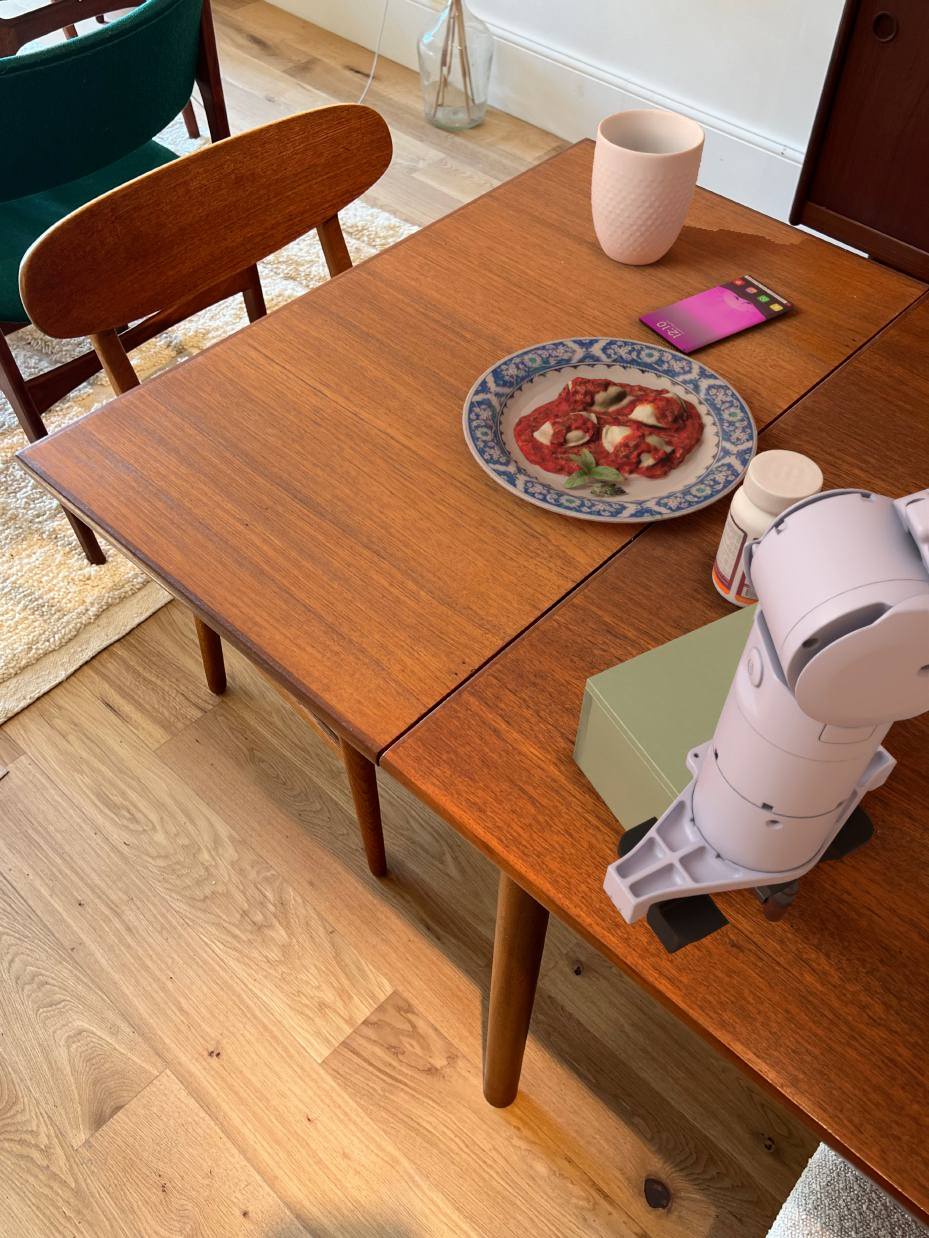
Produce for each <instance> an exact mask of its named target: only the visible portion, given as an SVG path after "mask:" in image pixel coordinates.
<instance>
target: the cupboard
mask: <svg viewBox="0 0 929 1238" xmlns="http://www.w3.org/2000/svg"><path fill="white" fill-rule="evenodd" d="M757 605H758V602H757V603H754V604H752V605H750V606H748V607H746V608H743V607H742V608H741V609H739V610H737V611H735V612H732V613H730V614H728V615H725V616H723V617H721V618H719V619H716V620H715V621H714V620H713V621H712V622H709V623H707V624H705V625H704V626H701V627H699V628H696V629H694V630H692V631H689V632H688V633H686V634H683V635H681V636H679V637H677V638H674V639H672V640H670V641H668V642H666V643H663V644H661V645H659V646H656V647H655V648H652V649H650V650H648V651H645V652H643V653H641V654H639V655H637V656H634V657H632V658H630V659H628V660H626V661H623V662H621V663H618V664H616V665H614V666H612V667H610V668H607V669H605V670H603V671H601V672H599V673H596V674H594V675H592V676H590V677H587V678H586V681H585V687H584V690H583V691H584V692H583V697H582V702H581V703H582V704H581V709H580V714H579V719H578V720H579V721H578V727H577V732H576V737H575V744H574V748H573V755H572V759H573V760H574V762H575V763H576V765H577V766H578V767H579V769H580V770H581V772H582V773H583V774H584V776H585V777H586V778H587V780H588V781H589V783H590V784H591V785H592V787H593V788H594V790H595V791H596V793H597V794H598V795H599V796H600V797H601V799H602V800H603V801H604V803H605V805H606V806H607V807H608V808H609V810H610V812H611V813H612V814H613V815H614V817H615V818H616V819H617V821H618V822H619V824H620V825H621V827H622V828H623V829H624V830H625V832H626V831H628V830H629V829H631V828H633V827H635V826H637V825H639V824H641V823H643V822H645V821H647V820H649V819H650V818H652V817H654V816H655V817H656V818H657V819H658V820H659V819H660V817H661V816H662V815H663V814H664V813H665V812H666V810H667V809H668V808H669V807H670V806H671V804H672V803H673V802H674V801H675V800H676V798H677V797H678V796H679V795H680V794H681V793H682V791H683V790H684V789H685V788H686V787H687V785H688V784H689V783H690V782H691V781H692V780H693V778H694V777H693V775H692V773H691V772H690V771H689V769H688V768H687V766H686V758H687V755H688V752H689V751H691V750H692V749H693V748H695V747H697V746H699V745H701V744H703V743H705V742H707V741H709V740H712V739H713V736H714V733H715V730H716V727H717V724H718V721H719V718H720V716H721V713H722V710H723V707H724V704H725V701H726V699H727V696H728V693H729V690H730V687H731V685H732V682H733V679H734V676H735V673H736V670H737V667H738V665H739V662H740V659H741V657H742V654H743V651H744V648H745V645H746V643H747V640H748V637H749V634H750V631H751V629H752V626H753V623H754V619H753V616H754V613H755V611H756V608H757Z"/></svg>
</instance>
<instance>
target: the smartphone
mask: <svg viewBox="0 0 929 1238" xmlns="http://www.w3.org/2000/svg"><path fill="white" fill-rule="evenodd" d="M794 306H795V304H794V302H792V301H790V300H789V299H787V298H786V297H785V296H782V295H781V294H780V293H778V292H777V291H775V290H774V289H772V288H770V287H769V286H768V285H766V284H764V283H763V282H761V281H760V280H758V279H757V278H755V277H754V276H753V275H751V274H746V275H744V276H741V277H738V278H736V279H733V280H730V281H728V282H726V283H722V284H721V285H717V286H715V287H713V288H710V289H708V290H705V291H702V292H700V293H698V294H695V295H692V296H690V297H687V298H685V299H682V300H680V301H677V302H674V303H672V304H669V305H667V306H664V307H661V308H659V309H656V310H654V311H651V312H649V313H646V314H643V315H641V316H638V322H639V323H640V324H642V325H643V326H645V327H646V328H647V329H649V330H650V331H651V332H652V333H654V334H655V335H656V336H657V337H659V338H660V339H661V340H663V341H664V342H665V343H666V344H668V345H670V346H671V347H672V348H673V349H674V350H676V352H678V353H680V354H682V355H687V354H689V353H692V352H694V351H697V350H699V349H701V348H703V347H704V348H705V347H706V346H709V345H711V344H714V343H716V342H718V341H720V340H723V339H726V338H728V337H730V336H732V335H735V334H738V333H741V332H742V331H745V330H747V329H749V328H753V327H754V326H756V325H760V324H762V323H764V322H766V321H769V320H771V319H773V318H776V317H778V316H781V315H783V314H786V313H788V312H791V311H792V310H793V309H794Z"/></svg>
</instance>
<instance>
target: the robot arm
mask: <svg viewBox="0 0 929 1238" xmlns="http://www.w3.org/2000/svg"><path fill="white" fill-rule="evenodd" d="M742 566H743V570H744V573H745V576H746V579H747V582H748V584H749V586H750V587H751V589H752V590H753V591H754V593H755V594H756V595H757V597H758V600H759V601H758V605H757V608H756V611H755V613H754V616H753V619H754V623H753V626H752V629H751V631H750V634H749V637H748V640H747V643H746V645H745V648H744V651H743V654H742V657H741V659H740V662H739V665H738V667H737V670H736V673H735V676H734V679H733V682H732V685H731V687H730V690H729V693H728V696H727V699H726V701H725V704H724V707H723V710H722V713H721V716H720V718H719V721H718V724H717V727H716V730H715V733H714V736H713V739H712V740H709V741H707V742H705V743H703V744H701V745H699V746H697V747H695V748H693V749H692V750H691V751H689V752H688V755H687V758H686V766H687V768H688V769H689V771H690V772H691V773H692V775H693V777H694V778H693V780H692V781H691V782H690V783H689V784H688V785H687V787H686V788H685V789H684V790H683V791H682V793H681V794H680V795H679V796H678V797H677V798H676V800H675V801H674V802H673V803H672V804H671V806H670V807H669V808H668V809H667V810H666V812H665V813H664V814H663V815H662V816H661V817H660V819H659V820H658V819H657V818H656V817H655V816H654V817H652V818H650V819H649V820H647V821H645V822H643V823H641V824H639V825H637V826H635V827H633V828H631V829H629V830H628V831H626V830H625V832H623V834H622V835H621V836H620V839H619V841H618V846H617V849H616V852H617V855H618V857H619V859H617V860H616V861H614V862H612V863H611V864H609V865H608V866H607V870H606V873H605V877H604V882H603V884H602V888H603V890H604V891H605V893H606V894H607V896H608V897H609V898H610V901H611V902H612V903H613V905H614V907H615V908H616V910H617V911H618V912H619V914H621V916H622V918H623V919H624V920H625V922H626V923H627V924H628V925H631V924H633V923H636V922H637V921H639V920H641V919H642V918H645V917H646V923H647V925H648V926H649V928H650V929H651V930H652V932H653V933H654V935H655V936H656V937H657V939H658V940H659V942H660V943H661V945H662V946H663V948H664V949H665V950H666V951H667V953H668V954H671V955H672V954H676V953H677V952H678V951H680V950H683V949H684V948H686V947H687V946H689V945H691V944H694V943H697V942H699V941H701V940H703V939H705V938H707V937H709V936H710V935H712V934H713V933H716V932H717V931H719V930H720V929H722V928H724V927H726V926H728V925H729V924H730V921H729V919H727V917H726V916H725V914H724V913H723V911H722V910H721V909H720V908H719V906H718V905H717V904H716V902H715V901H714V900H713V898H712V897H711V896H710V894H714V893H720V892H728V891H735V890H743V889H748V888H750V887H757V886H764V885H766V886H767V888H768V889H769V890H770V891H771V893H772V894H773V895H775V894H777V893H779V892H781V891H783V890H785V889H786V888H788V887H790V886H791V885H793V884H794V883H795V882H797V881H798V882H799V880H800V879H802V878H803V877H804V876H806V874H808V873H810V871H812V870H813V869H814V868H816V867H817V866H819V864H822V863H825V862H829V861H835V860H842V859H844V858H846V857H848V856H849V855H850V854H852V853H854V852H856V851H858V850H859V849H862V848H863V847H865V846H866V845H868V844H869V843H870V842H871V839H872V838H873V836H874V833H875V825H874V822H873V820H872V818H871V817H870V815H868V813H867V812H866V811H865V810H864V809H863V808H862V807H861V806H860V805H859V804H860V803H861V801H862V799H863V798H864V796H865V795H866V794H867V792H872V791H874V790H875V789H877V788H879V787H881V786H882V785H884V784H885V782H886V781H887V779H888V777H889V776H890V774H891V772H893V769H894V767H895V766H896V765H897V763H898V761H897V759H896V758H895V757H893V755H891V753H890V752H889V751H887V749H886V748H885V747H884V746H882V742H883V740H885V737H886V735H887V734H888V732H889V731H890V730H891V727H892V726H893V724H894V722H898V721H904V720H909V719H912V718H915V717H917V716H920V715H922V714H924V713H926V712H928V711H929V487H928V488H926V489H923V490H920V491H917V492H914V493H911V494H908V495H904V496H903V497H902V496H901V497H899V498H897V499H895V498H893V497H891V496H886V495H884V494H883V495H882V494H878V493H875V492H873V491H870V490H867V489H861V488H853V487H852V488H851V487H850V488H834V489H830V490H825V491H822V492H821V491H820V493H818V494H815V495H812V496H810V497H807V498H805V499H803V500H801V501H799V502H797V503H795V504H794V505H792V506H791V507H789V508H788V509H786V510H785V511H784V512H782V513H781V514H780V515H779V516H778V517H777V518H776V519H775V520H774V521H773V522H772V523H771V524H770V526H769V527H768V528H767V530H766V531H765V533H764V535H763V536H762V537H761V538H760V539H758V540H753V541H749V542H747V543H746V544H745V545H744V548H743V552H742Z"/></svg>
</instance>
